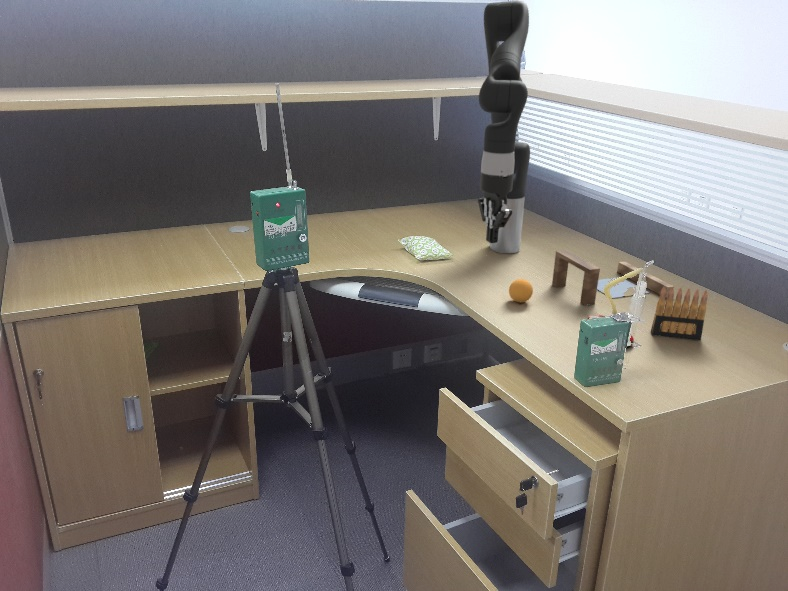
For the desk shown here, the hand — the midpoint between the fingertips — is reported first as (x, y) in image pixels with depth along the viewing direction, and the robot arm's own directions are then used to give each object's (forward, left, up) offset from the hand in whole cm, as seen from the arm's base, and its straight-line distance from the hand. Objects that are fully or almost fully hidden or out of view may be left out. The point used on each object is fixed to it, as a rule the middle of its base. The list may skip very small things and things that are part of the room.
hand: (491, 241), depth 160 cm
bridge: (0, +26, -17) cm, 31 cm away
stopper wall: (0, +49, -17) cm, 51 cm away
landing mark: (0, +40, -17) cm, 43 cm away
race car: (+24, +19, -18) cm, 35 cm away
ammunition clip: (+29, +34, -17) cm, 48 cm away
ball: (0, +10, -14) cm, 17 cm away
